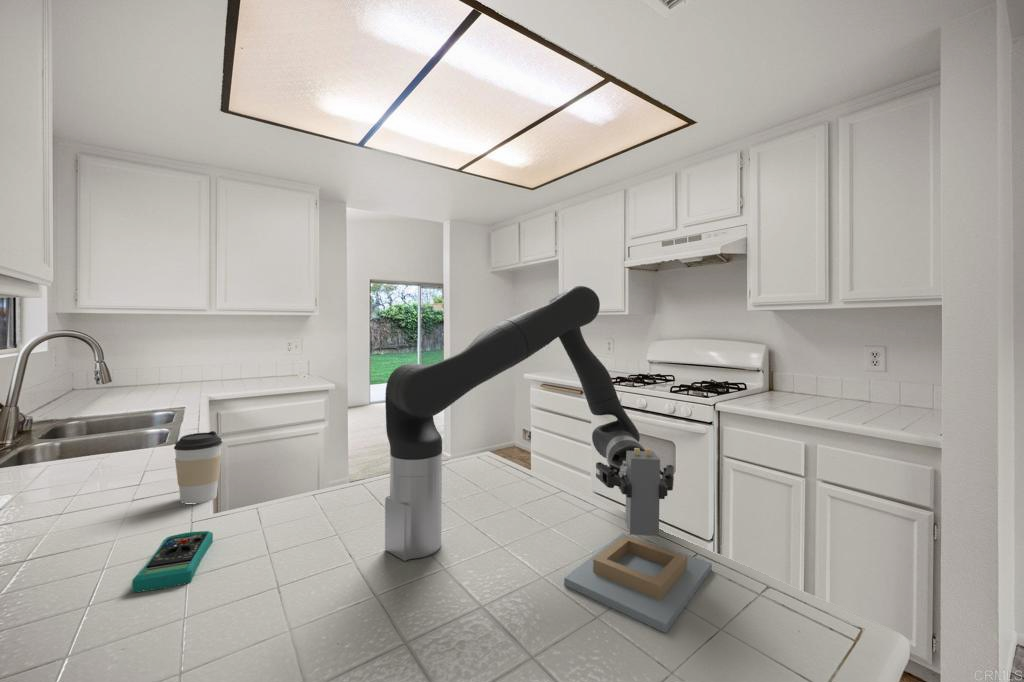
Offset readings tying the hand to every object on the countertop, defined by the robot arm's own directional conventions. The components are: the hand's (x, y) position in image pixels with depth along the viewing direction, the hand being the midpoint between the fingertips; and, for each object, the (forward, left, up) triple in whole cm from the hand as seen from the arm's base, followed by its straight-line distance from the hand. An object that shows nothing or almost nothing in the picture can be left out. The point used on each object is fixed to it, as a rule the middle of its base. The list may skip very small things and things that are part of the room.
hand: (645, 492), depth 66 cm
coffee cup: (-36, +92, -15) cm, 100 cm away
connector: (+2, +2, -7) cm, 8 cm away
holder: (+2, +2, -15) cm, 15 cm away
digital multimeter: (-46, +61, -16) cm, 78 cm away
